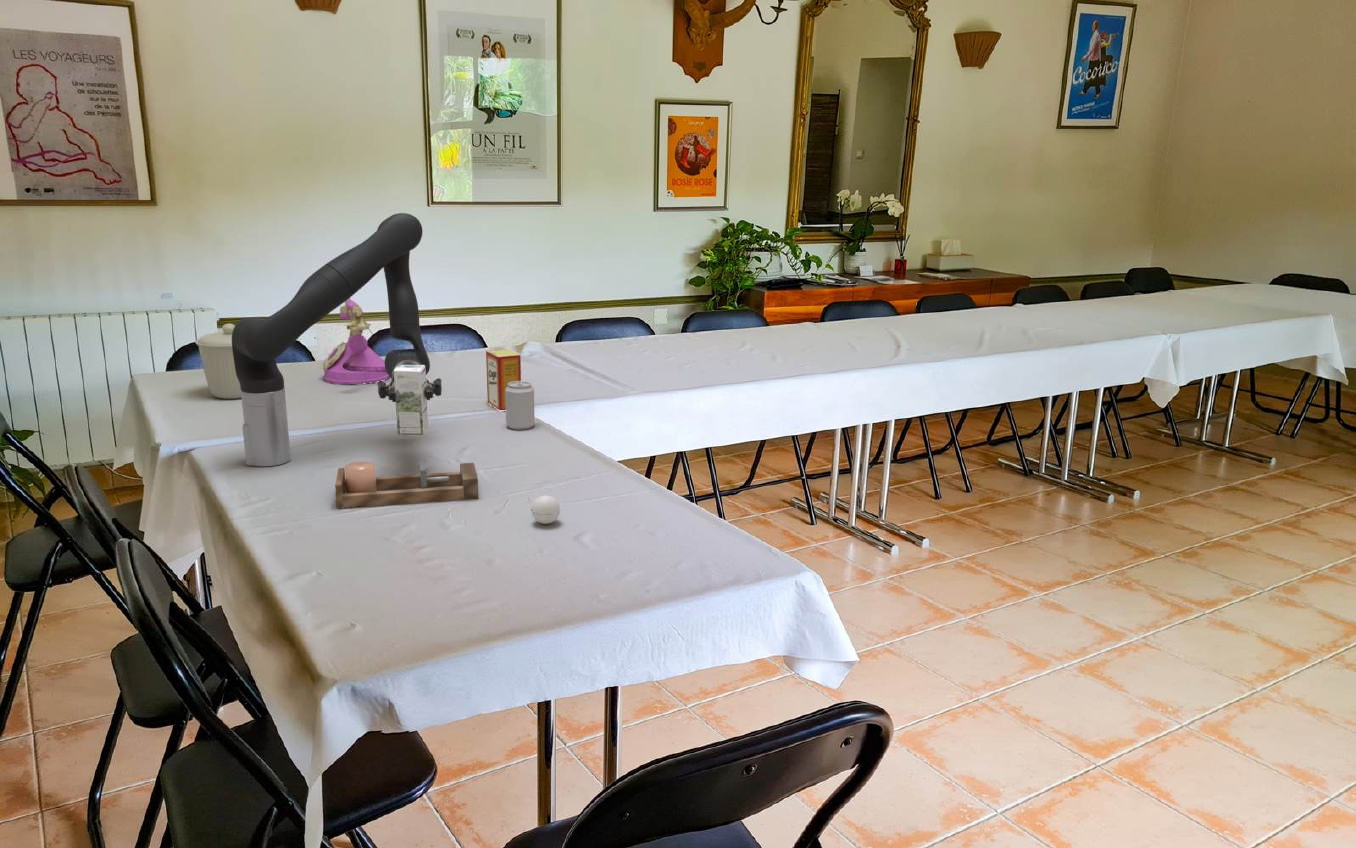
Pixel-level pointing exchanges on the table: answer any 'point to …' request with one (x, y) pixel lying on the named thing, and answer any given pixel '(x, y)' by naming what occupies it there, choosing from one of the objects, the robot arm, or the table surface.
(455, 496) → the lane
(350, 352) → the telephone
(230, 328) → the canister
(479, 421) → the table surface
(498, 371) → the baking soda box
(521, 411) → the can
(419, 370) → the syrup box
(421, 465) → the plate
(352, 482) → the peach rounded cylinder
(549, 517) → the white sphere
